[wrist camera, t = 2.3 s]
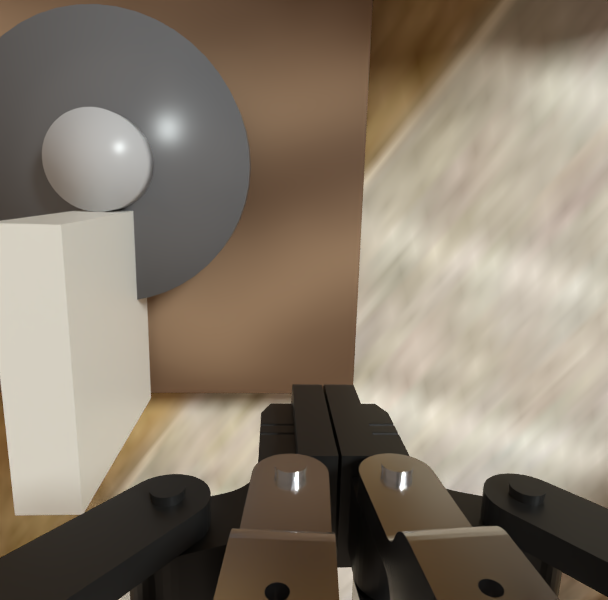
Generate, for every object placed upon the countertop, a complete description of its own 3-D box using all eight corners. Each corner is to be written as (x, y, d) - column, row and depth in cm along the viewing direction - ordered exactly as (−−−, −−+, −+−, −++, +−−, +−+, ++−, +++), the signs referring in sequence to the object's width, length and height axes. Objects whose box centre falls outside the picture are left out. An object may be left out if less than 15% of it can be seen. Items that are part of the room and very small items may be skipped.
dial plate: (-145, -108, 17) (-186, -137, 15) (369, -79, 18) (378, -103, 16) (-76, 376, 21) (-104, 392, 19) (347, 379, 22) (352, 394, 20)
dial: (-36, 11, 16) (-263, -114, 9) (251, 24, 17) (234, -86, 10) (5, 397, 19) (-146, 516, 12) (249, 398, 20) (236, 513, 13)
